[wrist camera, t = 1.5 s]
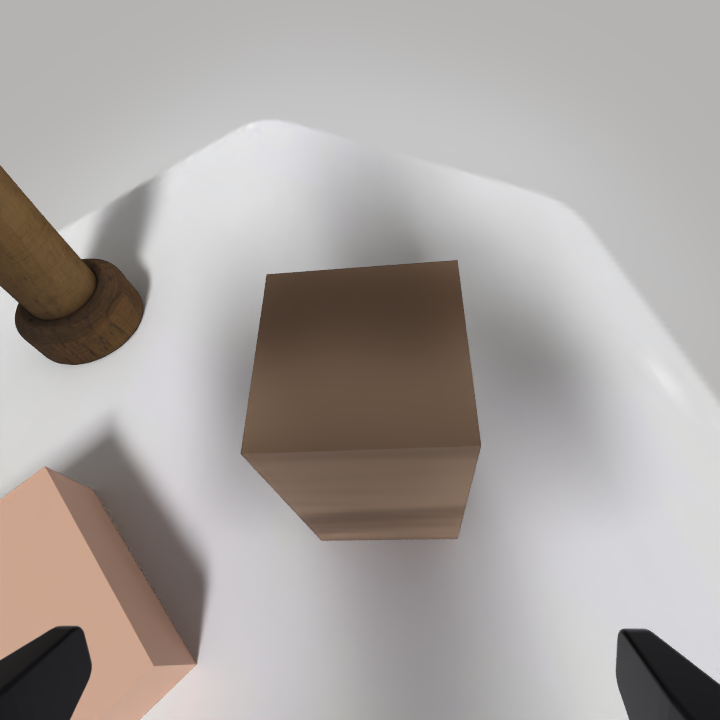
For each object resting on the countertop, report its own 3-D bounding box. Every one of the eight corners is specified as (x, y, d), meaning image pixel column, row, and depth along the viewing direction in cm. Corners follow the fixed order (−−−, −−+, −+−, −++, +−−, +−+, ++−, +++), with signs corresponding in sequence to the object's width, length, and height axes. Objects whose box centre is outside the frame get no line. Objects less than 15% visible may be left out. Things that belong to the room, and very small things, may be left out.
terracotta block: (200, 664, 20) (153, 666, 17) (-31, 888, 17) (-144, 945, 14) (97, 492, 25) (44, 466, 21) (-98, 647, 22) (-196, 646, 18)
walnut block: (457, 538, 21) (481, 445, 12) (321, 540, 22) (240, 454, 12) (445, 412, 24) (457, 260, 15) (327, 417, 25) (266, 274, 15)
